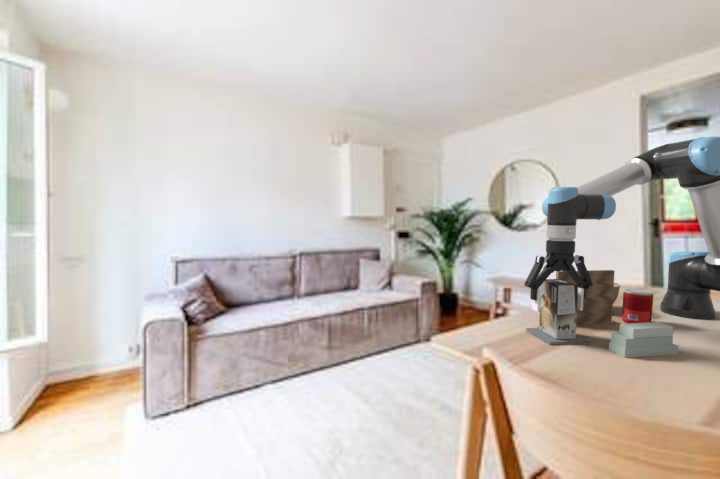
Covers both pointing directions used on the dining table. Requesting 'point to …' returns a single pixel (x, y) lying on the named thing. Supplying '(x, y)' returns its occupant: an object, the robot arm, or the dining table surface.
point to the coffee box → (558, 308)
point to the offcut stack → (643, 340)
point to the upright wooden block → (595, 296)
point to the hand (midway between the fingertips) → (557, 310)
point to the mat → (553, 341)
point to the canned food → (637, 306)
